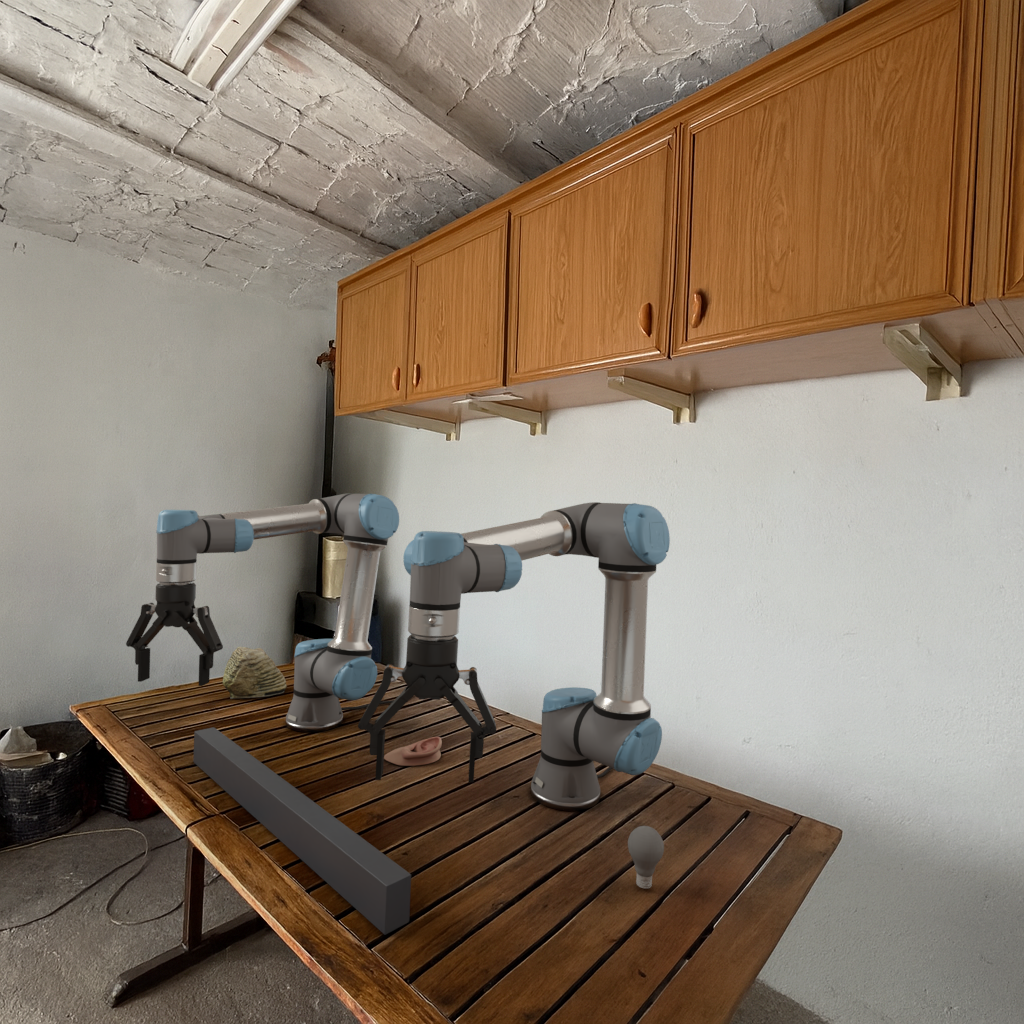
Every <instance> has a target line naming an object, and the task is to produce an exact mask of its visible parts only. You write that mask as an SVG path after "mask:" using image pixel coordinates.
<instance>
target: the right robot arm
mask: <svg viewBox="0 0 1024 1024" xmlns="http://www.w3.org/2000/svg"><path fill="white" fill-rule="evenodd" d="M670 537H671V536H670V530H669V525H668V523H667V520H666V518H665V517H664V516H663V514H662V512H661V511H660V510H658V508H656V507H654V506H652V505H647V504H641V503H636V502H635V503H622V502H621V503H618V502H617V503H616V502H597V501H596V502H594V501H593V502H584V503H579V504H574V505H571V506H566V507H562V508H557V509H554V510H549V511H546V512H544V513H543V514H542V515H541V516H540V517H539V518H533V519H528V520H522V521H518V522H512V523H507V524H502V525H498V526H494V527H493V526H492V527H487V528H482V529H478V530H474V531H468V532H463V533H460V532H453V531H439V530H438V531H435V530H421V531H418V532H417V533H416V534H415V535H414V537H413V539H412V540H411V541H410V542H408V544H407V545H406V547H405V549H404V552H403V562H402V563H403V566H404V569H405V571H406V572H407V574H408V575H409V576H410V581H409V582H410V583H409V585H410V586H409V605H408V618H407V619H408V621H407V632H408V633H409V636H408V637H407V639H406V640H407V641H406V642H407V643H406V657H405V665H404V667H397V666H394V665H393V664H392V663H388V664H386V666H385V668H384V670H383V674H382V679H381V683H380V685H379V687H378V688H377V690H376V692H375V693H374V695H373V697H372V699H371V700H370V702H369V703H368V704H369V706H368V707H367V708H365V711H364V713H363V714H362V716H361V718H360V720H359V722H358V724H357V728H358V729H359V730H360V731H366V732H368V734H369V752H368V753H369V754H370V756H376V758H375V760H376V761H375V778H374V779H375V781H381V780H382V777H383V775H384V762H385V759H384V756H385V743H386V741H385V740H386V729H384V727H385V726H386V725H387V724H388V722H390V720H391V719H392V718H393V717H394V716H395V715H396V714H397V713H398V712H399V711H400V710H401V709H402V708H403V707H404V706H405V705H406V704H407V703H408V702H409V701H410V700H411V699H412V698H413V697H416V698H418V700H427V699H431V700H434V701H435V700H436V701H438V700H439V701H440V700H441V699H443V698H446V700H447V701H448V702H449V704H451V705H452V706H453V708H454V710H456V712H457V713H458V714H459V716H460V717H461V718H462V719H463V721H464V722H465V723H466V725H467V726H468V727H469V729H471V732H470V741H469V742H470V743H469V758H468V759H469V761H468V783H472V784H473V783H474V781H475V766H476V765H475V764H476V759H482V758H483V756H484V744H485V743H484V740H485V738H486V736H487V735H490V734H491V735H494V734H496V732H497V724H496V720H495V719H494V716H493V713H492V711H491V709H490V707H489V704H488V702H487V700H486V697H485V696H484V693H483V691H482V689H481V686H480V683H479V681H478V670H477V668H476V667H475V666H471V667H470V668H469V669H459V668H458V652H459V651H458V650H459V639H458V637H457V635H458V634H459V632H460V617H461V616H460V615H461V599H462V594H463V595H464V594H472V593H473V594H474V593H490V592H495V593H499V592H502V591H506V590H511V589H513V588H515V587H516V586H517V585H518V584H519V582H520V580H521V578H522V575H523V561H526V560H529V559H534V558H537V557H541V556H546V555H550V556H552V557H560V556H561V557H562V556H567V555H576V556H585V557H590V558H592V557H593V558H597V559H598V561H597V562H598V567H597V568H598V571H599V572H600V573H601V574H602V575H603V576H604V578H605V579H604V580H605V581H604V608H603V635H602V661H601V684H600V685H601V686H600V687H601V688H600V693H599V694H598V695H597V692H596V691H595V690H594V689H592V688H587V687H578V686H577V687H562V688H555V689H551V690H550V691H547V692H546V694H545V695H544V697H543V703H542V709H541V734H540V736H541V737H540V758H539V761H538V764H537V765H536V767H535V768H536V769H535V771H534V774H533V777H532V779H531V783H530V795H531V797H532V799H534V801H536V802H537V803H538V804H540V805H543V806H545V807H547V808H550V809H554V810H559V811H566V812H567V811H569V812H571V811H572V812H574V811H575V812H577V811H583V810H588V809H591V808H593V807H595V806H596V805H597V804H598V803H599V802H600V800H601V785H600V782H599V779H601V778H602V777H604V776H605V775H607V774H608V773H609V772H610V771H612V770H614V771H616V772H617V773H624V774H626V775H631V776H639V775H641V774H643V773H645V772H646V771H647V770H648V769H649V768H650V767H651V766H652V765H653V763H654V761H655V759H656V758H657V756H658V753H659V751H660V748H661V744H662V740H663V729H662V726H661V724H660V722H659V721H658V720H656V719H655V718H654V717H652V716H651V715H652V714H651V712H652V705H651V703H650V701H649V700H648V699H647V698H646V697H645V672H646V671H645V670H646V647H647V645H646V644H647V622H648V619H647V618H648V596H649V594H648V593H649V592H648V591H649V590H648V589H649V579H650V578H651V577H653V576H654V574H656V573H657V565H660V564H661V563H663V562H664V561H665V559H666V558H667V553H668V552H669V550H670V545H671V543H670V542H671V540H670V539H671V538H670ZM400 677H402V679H403V681H404V682H405V684H406V687H405V688H404V689H403V690H402V691H401V693H400V694H399V695H398V696H396V698H395V699H393V700H394V701H393V702H392V703H389V705H388V706H387V708H386V709H384V710H383V711H382V713H381V714H380V715H378V717H377V718H376V719H375V720H373V719H372V717H373V716H374V714H375V712H376V711H377V709H378V707H379V706H380V705H379V704H380V702H382V700H383V699H384V697H385V695H386V693H387V691H388V689H389V687H390V685H391V683H396V682H397V680H398V679H399V678H400ZM460 679H461V680H463V683H464V685H466V686H469V690H470V692H471V694H472V697H473V699H474V702H475V704H476V707H477V708H478V710H479V713H480V715H481V718H482V720H483V722H484V723H482V722H481V721H480V719H478V717H477V716H476V715H475V713H474V712H473V710H472V709H471V708H470V706H468V704H467V703H466V702H465V700H464V699H463V698H462V697H461V695H460V694H459V692H458V690H457V689H456V687H454V686H456V684H457V682H458V681H459V680H460ZM594 762H596V763H598V764H601V765H603V766H604V767H605V766H606V767H607V769H605V770H604V771H603V772H602V773H600V774H597V771H596V766H595V763H594Z"/></svg>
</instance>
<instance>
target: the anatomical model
mask: <svg viewBox="0 0 1024 1024" xmlns="http://www.w3.org/2000/svg"><path fill="white" fill-rule="evenodd" d="M442 740H443V739H442V737H441V736H433V737H428V738H425V739H422V740H419V741H417V742H414V743H412V744H409V745H405V746H401V747H398V748H395V749H393V750H391V751H389V752H387V753H385V754H384V761H386V762H388V763H390V764H394V765H396V766H401V767H411V766H413V767H415V766H423V765H429V764H432V763H435V762H437V761H438V760H440V759H441V755H442V753H441V751H440V750H441V748H442V744H443V741H442Z"/></svg>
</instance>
